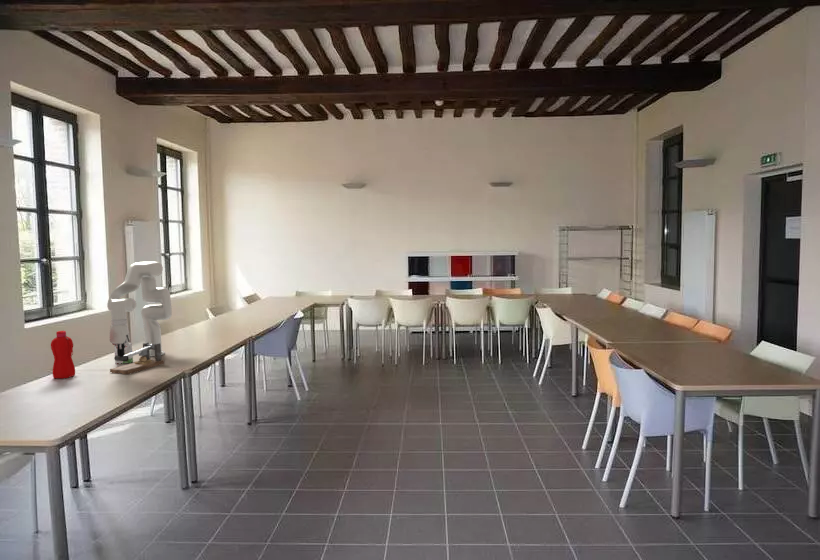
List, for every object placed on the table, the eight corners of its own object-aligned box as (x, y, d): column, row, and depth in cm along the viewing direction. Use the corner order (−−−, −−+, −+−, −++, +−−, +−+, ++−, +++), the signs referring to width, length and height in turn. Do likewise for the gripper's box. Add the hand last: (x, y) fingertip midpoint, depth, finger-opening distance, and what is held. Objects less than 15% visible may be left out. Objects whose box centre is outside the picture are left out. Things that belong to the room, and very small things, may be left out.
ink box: (133, 361, 336) (132, 342, 335) (129, 363, 331) (128, 343, 330) (119, 362, 336) (117, 342, 335) (114, 364, 331) (113, 344, 330)
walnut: (137, 363, 322) (137, 356, 322) (143, 361, 326) (142, 355, 326) (143, 363, 321) (142, 357, 321) (148, 362, 325) (148, 355, 324)
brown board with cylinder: (110, 372, 310) (108, 351, 309) (146, 362, 334) (145, 342, 333) (128, 374, 306) (127, 352, 305) (164, 363, 330) (162, 343, 329)
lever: (149, 350, 333) (148, 343, 332) (159, 350, 330) (158, 343, 329) (115, 363, 309) (113, 355, 309) (124, 364, 307) (123, 356, 306)
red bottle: (67, 379, 297) (64, 332, 294) (49, 378, 299) (46, 332, 297) (81, 375, 306) (78, 329, 303) (63, 374, 308) (60, 329, 306)
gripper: (103, 323, 306) (105, 356, 308) (124, 324, 301) (126, 357, 303) (114, 321, 313) (116, 353, 315) (135, 322, 308) (137, 355, 310)
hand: (121, 355), depth 309 cm, fingers closed
